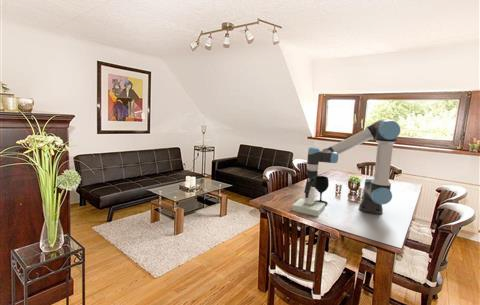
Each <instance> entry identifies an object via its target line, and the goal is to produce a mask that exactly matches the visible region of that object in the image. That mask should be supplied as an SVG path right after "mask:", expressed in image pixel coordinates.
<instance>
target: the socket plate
mask: <svg viewBox="0 0 480 305" xmlns="http://www.w3.org/2000/svg"><path fill="white" fill-rule="evenodd" d="M291 205H292V206H291V211H293V212H297V213H301V214H306V215H309V216H310V215H311V216H314V217H319V216H320V215H321V214H322V213H323V212H324V211H325V209H326V205H325V203H321V202H316V200H314V205H313V206H308V205H305V198H301V197H300V198H299V199H298V200H297V201H295V202H294V203H292V204H291Z"/></svg>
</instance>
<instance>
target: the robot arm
mask: <svg viewBox="0 0 480 305" xmlns="http://www.w3.org/2000/svg"><path fill="white" fill-rule="evenodd" d="M400 133H401V127H400V124H399V123H398V122H397V121H395V120H393V119H380V120H377V121H375V122H373V123H372V124H370V125H368V126H367V127H365V129H363V130H361V131H360V132H357V133H355V134H353V135H351V136H349V137H348V138H345V139H343V140H341V141H339V142H337V143H334V144H333V145H331V146H329V147H327V148H323V149H322V150H321V149H320V147H317V146H316V147H315V146H312V147H311V146H310V147H309V148H308V151H307V159H306V173H305V175H306V176H308V177H307V178H306V183H305V187H304V191H303V193H304V194H305V195H304V199H305V202H307V203H309V194H310V193H309V192H310V188H311V187H315V190H316V176H319V175H318V173H319V171H318V170H319V163H329V164H337V163H338V161H339V155H341V154H343V153H344V152H347V151H349V150H351V149H353V148H355V147H357V146H359V145H361V144H363V143H365V142H367V141H370V140H371V141H373V140H375V141H376V143H377V146H376V147H377V148H376V154H375V155H376V156H375V157H376V158H375V165H374V175H373V178H365V181H364V187H363V195H362V200H361V201H360V203H359V207H358V209H359V211H361V212H364V213H367V214H370V215H382V214H383V210H384V209H383V205H387V204H389V203H390V202H391V201H392V198H393V194H392V191H391V186H392V184H391V182H390V181H389V180H390V172H391V165H392V164H391V163H392V159H393V158H392V156H393V148H394V144H396V143H397V138H398V137H399V135H400Z"/></svg>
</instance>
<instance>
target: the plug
mask: <svg viewBox="0 0 480 305" xmlns="http://www.w3.org/2000/svg"><path fill="white" fill-rule="evenodd" d="M309 193H310V194H309V203H307V202H305V205H308V206H313V205H314V201H315V194H316V189H315V187H311V188H310V192H309Z"/></svg>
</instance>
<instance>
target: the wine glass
mask: <svg viewBox="0 0 480 305" xmlns="http://www.w3.org/2000/svg"><path fill="white" fill-rule="evenodd" d="M329 186H330V184H329V177H328V176H326V175H317V176H316V189H315V191H317V192H318V193H319V199H318V200H316V199H315V201H316V202H321V203H325V206H327V205H329V203H328V201H326V200H322V199H323V198H322V195H323V193H325V192H326V191H327V190H328V188H329Z"/></svg>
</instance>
